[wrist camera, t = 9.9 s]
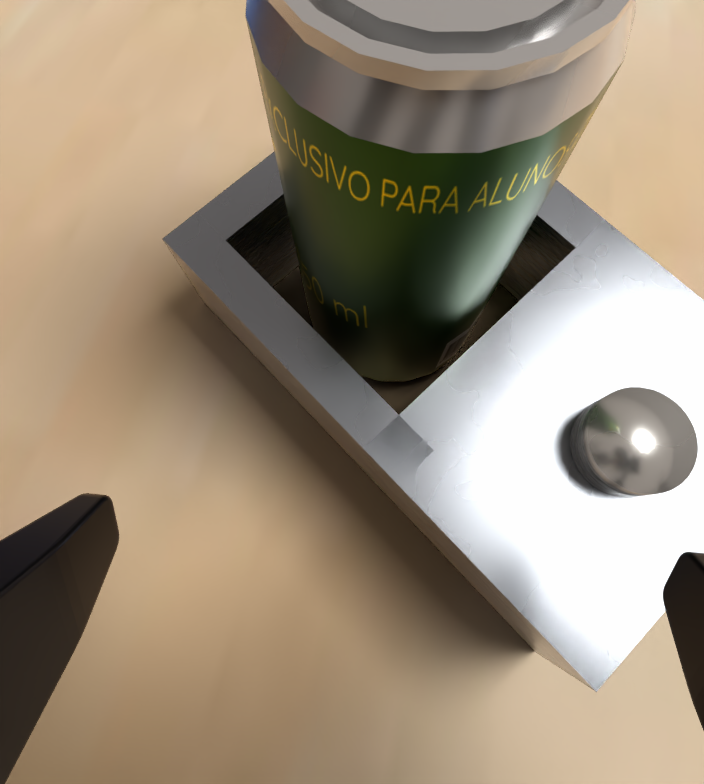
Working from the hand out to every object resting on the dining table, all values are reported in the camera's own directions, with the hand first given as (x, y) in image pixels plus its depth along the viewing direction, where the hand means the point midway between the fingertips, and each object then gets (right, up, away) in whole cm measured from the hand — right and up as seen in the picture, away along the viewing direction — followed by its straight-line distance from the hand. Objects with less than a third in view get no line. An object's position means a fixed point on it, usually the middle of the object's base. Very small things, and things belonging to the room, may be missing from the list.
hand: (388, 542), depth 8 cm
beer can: (+1, +5, +10) cm, 11 cm away
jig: (+3, +3, +9) cm, 10 cm away
